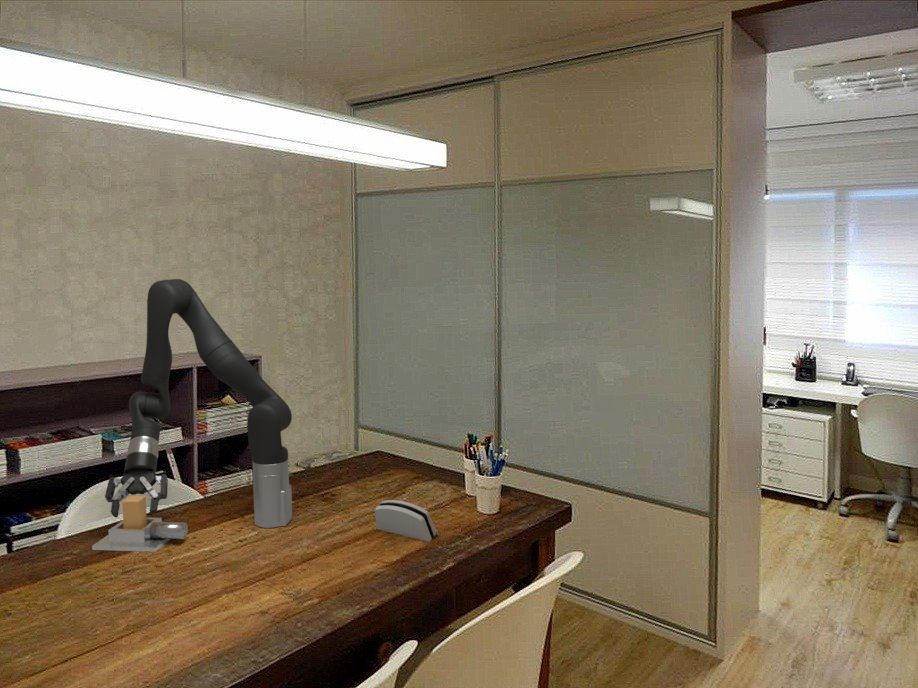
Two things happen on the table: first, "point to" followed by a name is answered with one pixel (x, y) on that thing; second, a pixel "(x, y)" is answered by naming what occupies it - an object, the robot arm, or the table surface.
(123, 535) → the bracket head
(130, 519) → the upright wooden block
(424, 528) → the grey rounded block
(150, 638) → the table surface
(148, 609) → the table surface
